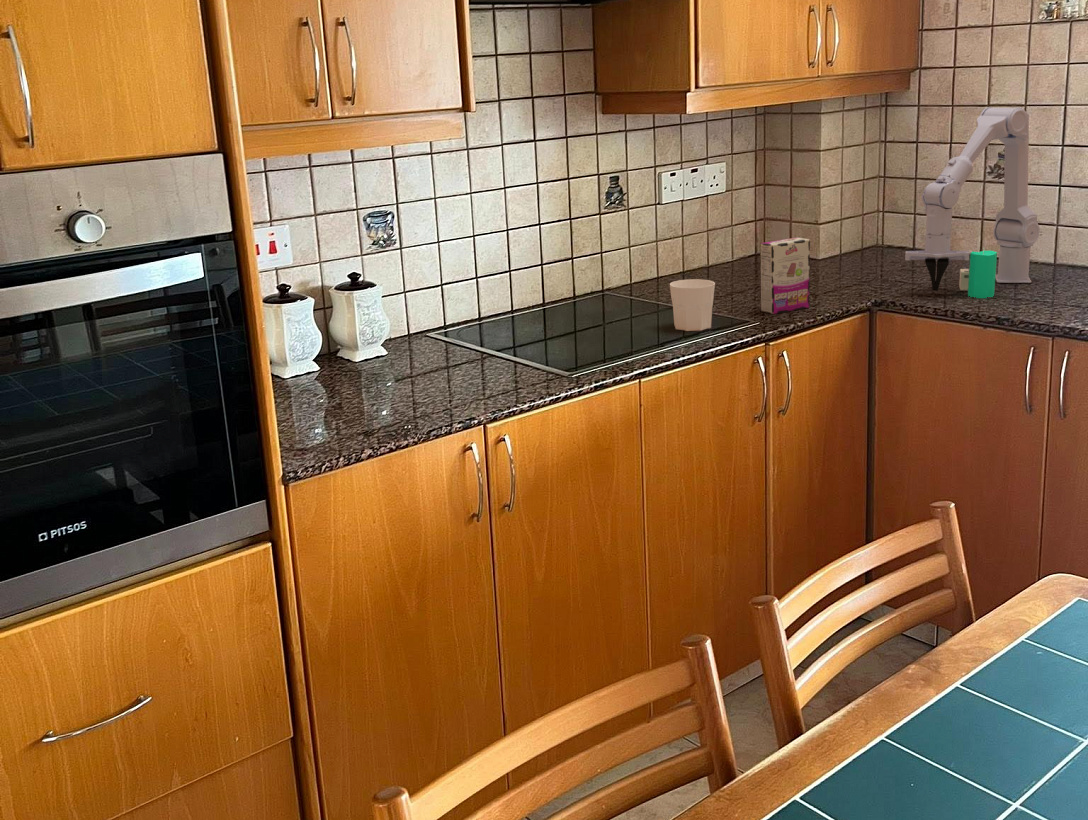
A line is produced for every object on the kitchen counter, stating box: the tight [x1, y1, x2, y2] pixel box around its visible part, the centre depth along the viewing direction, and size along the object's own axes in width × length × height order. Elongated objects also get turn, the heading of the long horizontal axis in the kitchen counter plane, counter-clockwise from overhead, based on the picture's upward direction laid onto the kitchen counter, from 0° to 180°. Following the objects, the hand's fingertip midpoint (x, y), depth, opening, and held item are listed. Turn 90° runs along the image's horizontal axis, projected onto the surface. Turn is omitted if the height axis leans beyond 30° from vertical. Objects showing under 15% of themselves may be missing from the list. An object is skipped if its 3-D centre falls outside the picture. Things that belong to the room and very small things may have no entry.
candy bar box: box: [759, 236, 811, 315], centre depth 273 cm, size 11×5×16 cm, turn 117°
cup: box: [669, 278, 716, 332], centre depth 261 cm, size 10×10×10 cm
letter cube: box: [958, 268, 969, 291], centre depth 288 cm, size 5×4×5 cm
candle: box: [967, 248, 998, 299], centre depth 278 cm, size 6×6×12 cm
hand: (935, 289), depth 282 cm, fingers closed
